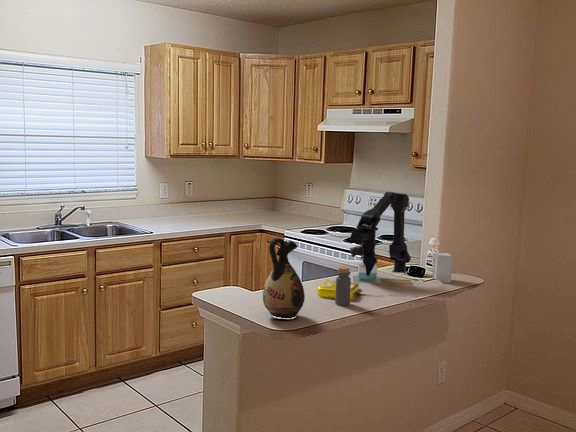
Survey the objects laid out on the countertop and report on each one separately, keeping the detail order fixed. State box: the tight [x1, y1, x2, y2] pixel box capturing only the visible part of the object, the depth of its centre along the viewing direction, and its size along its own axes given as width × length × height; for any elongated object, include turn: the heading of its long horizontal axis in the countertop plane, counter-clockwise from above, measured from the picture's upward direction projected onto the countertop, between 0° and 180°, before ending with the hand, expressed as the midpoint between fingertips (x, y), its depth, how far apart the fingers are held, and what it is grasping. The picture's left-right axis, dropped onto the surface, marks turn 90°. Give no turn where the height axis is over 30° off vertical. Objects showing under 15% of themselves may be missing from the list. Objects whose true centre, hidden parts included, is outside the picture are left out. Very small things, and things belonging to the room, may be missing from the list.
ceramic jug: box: [262, 237, 306, 318], centre depth 216 cm, size 17×15×30 cm
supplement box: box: [432, 252, 454, 284], centre depth 278 cm, size 7×7×13 cm
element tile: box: [317, 279, 360, 301], centre depth 250 cm, size 15×15×5 cm
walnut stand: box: [383, 278, 415, 288], centre depth 266 cm, size 12×12×2 cm
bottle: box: [334, 265, 352, 307], centre depth 236 cm, size 6×6×15 cm
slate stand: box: [352, 275, 382, 284], centre depth 271 cm, size 12×12×2 cm
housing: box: [357, 263, 378, 279], centre depth 270 cm, size 8×5×6 cm, turn 88°
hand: (367, 274), depth 270 cm, fingers closed on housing, 5 cm apart
